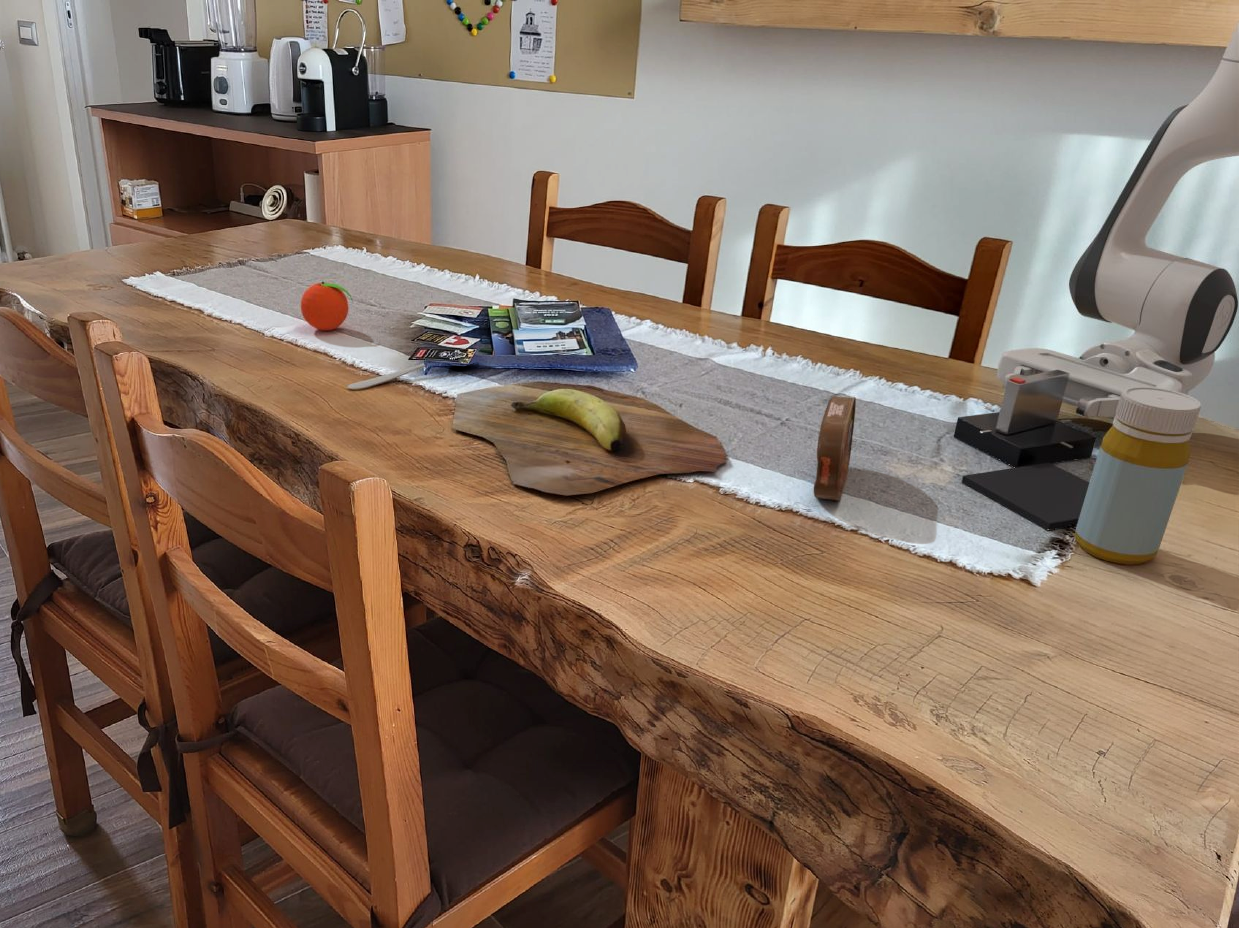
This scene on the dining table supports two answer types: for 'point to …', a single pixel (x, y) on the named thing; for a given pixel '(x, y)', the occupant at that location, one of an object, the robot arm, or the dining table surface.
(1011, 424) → the tap lever
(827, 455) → the tin
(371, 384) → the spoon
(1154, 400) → the bottle
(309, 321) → the clementine
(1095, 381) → the robot arm
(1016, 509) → the mat
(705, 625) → the dining table surface
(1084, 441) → the base
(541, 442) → the cutting board
